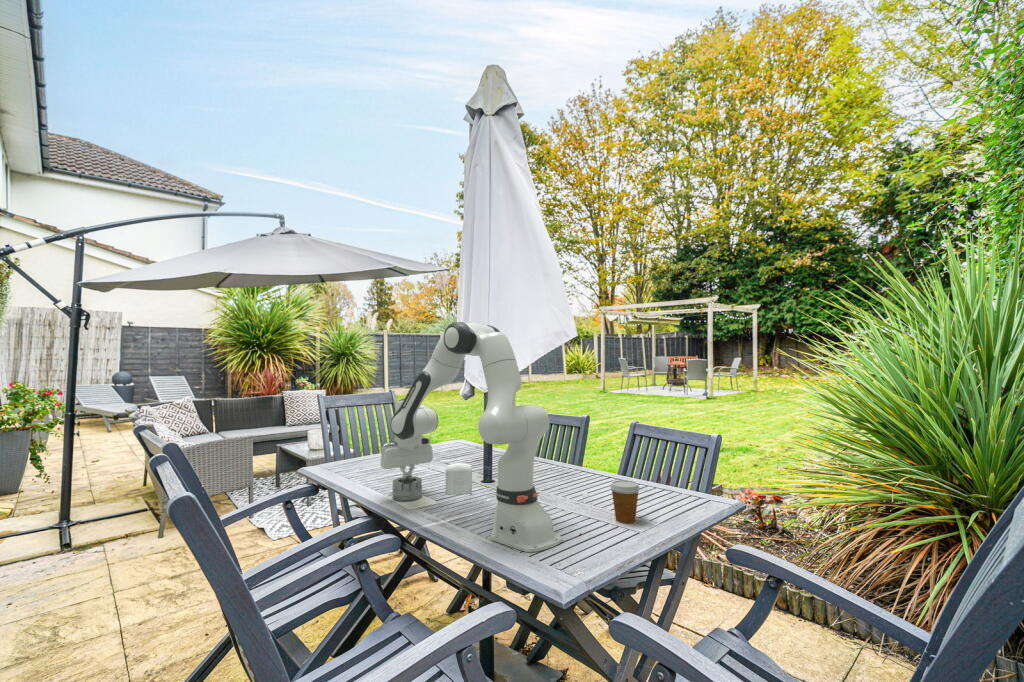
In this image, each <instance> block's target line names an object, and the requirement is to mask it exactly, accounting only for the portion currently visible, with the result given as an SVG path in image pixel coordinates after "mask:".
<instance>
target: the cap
mask: <svg viewBox="0 0 1024 682" xmlns="http://www.w3.org/2000/svg"><path fill="white" fill-rule="evenodd" d="M413 477H414V476H413ZM413 477H408V478H401V477H400V478H401V482H403V483H407V482H414V478H413Z"/></svg>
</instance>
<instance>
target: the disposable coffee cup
mask: <svg viewBox="0 0 1024 682" xmlns="http://www.w3.org/2000/svg"><path fill="white" fill-rule="evenodd" d="M609 487H610V490H611V495H612V501H613V510H614V516H615V520H616V521H617V522H619V523H622V524H632V523H635V522H636V519H637V518H636V516H637V507H638V500H639V499H638V498H639V491H640V489H641V488H640V487H641V486H639V483H638V482H636V481H633V480H626V479H625V480H624V479H619V480H614V481H611V485H610V486H609Z"/></svg>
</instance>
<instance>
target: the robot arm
mask: <svg viewBox="0 0 1024 682" xmlns="http://www.w3.org/2000/svg"><path fill="white" fill-rule="evenodd" d="M466 356H472V357H479V359H480V362H481V366H482V367H481V368H482V370H483V373H484V374H483V375H484V379H485V383H486V389H487V402H486V407H485V410H484V411H483V413H482V415H481V416H480V418H479V419H478V426H477V427H478V428H477V429H478V432H479V436H480V437H481V439H482V440H483V441H484V442H485V443H487V444H488V445H496V446H497V445H499V446H500V445H508V446H507V448H506V450H505V452H504V453H503V454H502V455H501V456H500V458H499V459H498V461H497V486H496V491H495V495H496V497H495V498H496V500H497V502H496V506H495V509H494V514H493V524H492V525H493V528H492V533H491V534H490V537H489V539H490V541H494V542H496V543H499V544H502V545H504V546H508V547H510V548H513V549H516V550H520V551H522V552H525V553H535V552H542V551H545V550H548V549H551V548H553V547H556V546H557V545H559V544H561V543H562V542H563V537H562V536H561V535H559V534H557V533H556V532H555V530H554V522H553V518H552V517H551V515H550V514H549V512H548V513H547V512H546V510H545V509H544V508H543V506H542V505H541V504H540V503H539V500H538V497H540V495H539V494H540V492H537V491H536V487H535V486H534V467H535V466H534V464H535V458H536V454H537V450H538V447H539V444H540V442H541V439H542V438H543V436H544V435H545V434H546V433H547V432H548V430H549V428H550V417H549V414H548V412H547V410H546V409H545V408H543V407H542V406H539V405H534V404H524V405H517V403H516V397H517V396H516V395H517V392H518V391H520V390H521V387H522V384H523V382H522V381H523V380H522V377H521V373H520V369H519V365H518V362H517V359H516V355H515V352H514V350H513V347H512V345H511V343H510V341H509V338H508V336H506V334H505V333H503V332H501V331H500V330H499V329H498V328H497V327H495V326H493V325H488V324H483V323H478V322H468V321H467V322H463V321H457V322H452V323H450V324H448V326H447V327H446V328H445V330H444V332H443V333H442V335H441V336H440V338H439V339H438V342H437V343H436V345H435V348H434V350H433V352H432V354H431V357H430V359H429V361H428V363H427V364H426V365H425V367H424V368H423V370H422V371H421V372H420V373H418V375H417V376H416V377H415V379H414V380H413V383H412V384H411V386H410V388H409V390H408V392H407V394H406V396H405V397H404V398H403V399H399V400H398V401H397V402H396V405H395V412H394V414H393V416H392V418H391V420H390V429H391V433H393V434H394V436H395V437H394V438H395V439H394V441H393V442H389V443H388V442H386V443H384V444H383V445H382V446H381V447H380V455H381V456H380V467H381V468H382V469H384V470H389V469H397V468H399V470H400V471H401V473H402V477H403V478H408V477H412V476H413V471H414V470H415V466H416V465H420V464H427V463H431V462H432V461H433V459H434V454H433V453H434V452H433V446H432V445H431V443H432V440H431V438H429V437H427V436H424V435H427V434H431V433H434V432H435V431H436V430H437V428H438V425H439V416H438V414H437V413H438V412H436V410H434V409H433V408H431V407H428V406H425V405H424V404H423V402H424V401H425V398H426V397H427V396H428V395H429V394H430V393H431V392H433V391H435V390H437V389H440V388H441V387H445V386H446V385H449V384H450V383H452V382H453V381H455V379H456V377H457V376H458V374H459V373H460V371H461V368H462V365H463V363H464V360H465V358H466ZM406 467H409V469H408V471H406V469H407V468H406Z"/></svg>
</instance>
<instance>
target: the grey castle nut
mask: <svg viewBox="0 0 1024 682" xmlns="http://www.w3.org/2000/svg"><path fill="white" fill-rule="evenodd" d="M412 477H413V478H414V482H407V483H403V482H401V478H403V476H401V477H397V478H394V479H393V480H392V495H391V496H392V499H393V500H394V501H398V502H410V501H416V500H419V499H421V498H422V495H423V483H422V481H423V480H422V479H423V478H421V477H419V476H413V475H412ZM394 501H393V502H394Z"/></svg>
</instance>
